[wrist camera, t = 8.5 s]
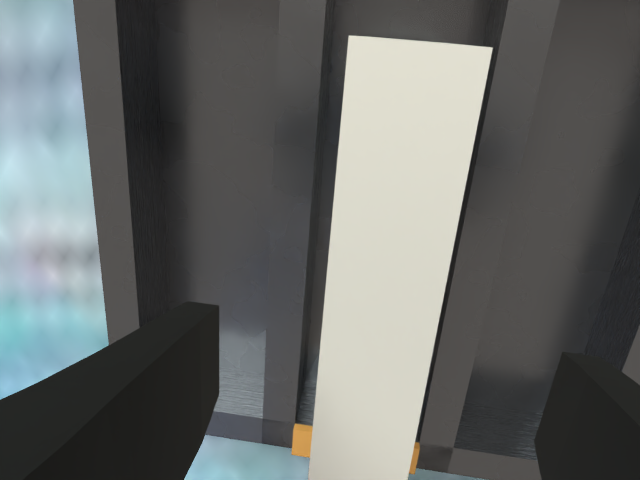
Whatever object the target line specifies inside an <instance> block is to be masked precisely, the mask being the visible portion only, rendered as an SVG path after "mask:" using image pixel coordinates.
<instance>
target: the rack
mask: <svg viewBox="0 0 640 480" xmlns="http://www.w3.org/2000/svg"><path fill="white" fill-rule="evenodd" d="M73 3H74V13H75V23H76V32H77V42H78V52H79V61H80V71H81V80H82V90H83V100H84V109H85V119H86V129H87V138H88V148H89V157H90V167H91V177H92V186H93V196H94V206H95V215H96V225H97V234H98V244H99V254H100V263H101V273H102V283H103V292H104V302H105V311H106V321H107V331H108V340H109V345H111V344H112V343H114V342H116V341H118V340H119V339H121V338H123V337H125V336H126V335H128V334H130V333H132V332H133V331H135V330H137V329H139V328H140V327H142V326H144V325H146V324H147V323H149V322H151V321H152V320H154V319H156V318H158V317H159V316H161V315H163V314H165V313H166V312H168V311H170V310H172V309H173V308H175V307H177V306H179V305H181V304H183V303H185V302H187V301H190V302H198V303H205V304H213V305H219V397H218V399H217V402H216V405H215V408H214V411H213V414H212V417H211V420H210V423H209V425H208V428H207V431H206V433H205V435H211V436H218V437H224V438H230V439H237V440H243V441H249V442H255V443H262V444H268V445H274V446H281V447H287V448H292V455H297V456H303V457H309V458H310V452H311V441H312V430H313V419H314V408H315V397H316V386H317V375H318V364H319V354H320V343H321V332H322V321H323V310H324V299H325V288H326V277H327V266H328V255H329V245H330V234H331V223H332V212H333V201H334V190H335V179H336V168H337V157H338V147H339V136H340V125H341V114H342V103H343V92H344V81H345V70H346V59H347V49H348V38H349V36H369V37H381V38H393V39H405V40H417V41H429V42H441V43H452V44H462V45H472V46H482V47H492V48H493V49H492V54H491V59H490V64H489V70H488V75H487V80H486V85H485V90H484V95H483V100H482V105H481V110H480V115H479V120H478V125H477V130H476V135H475V140H474V146H473V151H472V156H471V161H470V166H469V171H468V176H467V181H466V186H465V191H464V196H463V201H462V206H461V211H460V216H459V222H458V227H457V232H456V237H455V242H454V247H453V252H452V257H451V262H450V267H449V272H448V277H447V282H446V287H445V292H444V298H443V303H442V308H441V313H440V318H439V323H438V328H437V333H436V338H435V343H434V348H433V353H432V358H431V363H430V368H429V374H428V379H427V384H426V389H425V394H424V399H423V404H422V409H421V414H420V419H419V424H418V429H417V434H416V439H415V444H414V450H413V455H412V460H411V465H410V470H409V474H415V470H416V468H419V469H426V470H432V471H438V472H445V473H451V474H457V475H463V476H470V477H476V478H482V479H489V480H542V479H541V475H540V470H539V465H538V460H537V455H536V450H535V445H534V439H535V436H536V433H537V430H538V427H539V424H540V420H541V417H542V414H543V411H544V408H545V405H546V402H547V398H548V395H549V392H550V389H551V386H552V383H553V380H554V377H555V373H556V370H557V367H558V364H559V361H560V358H561V355H562V352H569V353H576V354H584V355H591V356H598V357H600V358H602V359H603V360H605V361H607V362H608V363H610V364H611V365H613V366H614V367H616V368H617V369H618V370H620V371H621V372H623V373H624V374H625V375H627V376H628V377H630V378H631V379H632V380H634V381H635V382H636V383H638V384H639V385H640V0H73Z"/></svg>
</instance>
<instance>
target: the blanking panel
mask: <svg viewBox="0 0 640 480" xmlns="http://www.w3.org/2000/svg"><path fill="white" fill-rule="evenodd" d="M492 49H493V48H492V47H482V46H472V45H462V44H452V43H441V42H429V41H417V40H405V39H393V38H381V37H369V36H349V38H348V49H347V59H346V70H345V81H344V92H343V103H342V114H341V125H340V136H339V147H338V157H337V168H336V179H335V190H334V201H333V212H332V223H331V234H330V245H329V255H328V266H327V277H326V288H325V299H324V310H323V321H322V332H321V343H320V354H319V364H318V375H317V386H316V397H315V408H314V419H313V430H312V441H311V452H310V462H309V473H308V480H408V475H409V470H410V465H411V460H412V455H413V450H414V444H415V439H416V434H417V429H418V424H419V419H420V414H421V409H422V404H423V399H424V394H425V389H426V384H427V379H428V374H429V368H430V363H431V358H432V353H433V348H434V343H435V338H436V333H437V328H438V323H439V318H440V313H441V308H442V303H443V298H444V292H445V287H446V282H447V277H448V272H449V267H450V262H451V257H452V252H453V247H454V242H455V237H456V232H457V227H458V222H459V216H460V211H461V206H462V201H463V196H464V191H465V186H466V181H467V176H468V171H469V166H470V161H471V156H472V151H473V146H474V140H475V135H476V130H477V125H478V120H479V115H480V110H481V105H482V100H483V95H484V90H485V85H486V80H487V75H488V70H489V64H490V59H491V54H492Z"/></svg>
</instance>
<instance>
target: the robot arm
mask: <svg viewBox="0 0 640 480" xmlns="http://www.w3.org/2000/svg"><path fill="white" fill-rule="evenodd" d="M218 397H219V305H213V304H205V303H198V302H190V301H187V302H185V303H183V304H181V305H179V306H177V307H175V308H173V309H172V310H170V311H168V312H166V313H165V314H163V315H161V316H159V317H158V318H156V319H154V320H152V321H151V322H149V323H147V324H146V325H144V326H142V327H140V328H139V329H137V330H135V331H133V332H132V333H130V334H128V335H126V336H125V337H123V338H121V339H119V340H118V341H116V342H114V343H112V344H111V345H109V346H107V347H105V348H103V349H102V350H100V351H98V352H96V353H94V354H92V355H90V356H88V357H87V358H85V359H83V360H81V361H79V362H77V363H75V364H73V365H71V366H69V367H67V368H65V369H63V370H61V371H59V372H57V373H56V374H54V375H52V376H50V377H48V378H46V379H44V380H42V381H40V382H38V383H36V384H34V385H32V386H30V387H27V388H25V389H23V390H21V391H19V392H17V393H14V394H12V395H10V396H8V397H6V398H3V399H1V400H0V480H184V478H185V476H186V474H187V472H188V470H189V468H190V466H191V464H192V462H193V460H194V458H195V456H196V454H197V452H198V450H199V448H200V446H201V444H202V441H203V439H204V436H205V433H206V431H207V428H208V425H209V423H210V420H211V417H212V414H213V411H214V408H215V405H216V402H217V399H218ZM534 445H535V450H536V455H537V460H538V465H539V470H540V475H541V479H542V480H640V385H639V384H638V383H636V382H635V381H634V380H632V379H631V378H630V377H628V376H627V375H625V374H624V373H623V372H621V371H620V370H618V369H617V368H616V367H614V366H613V365H611V364H610V363H608V362H607V361H605V360H603V359H602V358H600V357H598V356H591V355H584V354H576V353H569V352H562V355H561V358H560V361H559V364H558V367H557V370H556V373H555V377H554V380H553V383H552V386H551V389H550V392H549V395H548V398H547V402H546V405H545V408H544V411H543V414H542V417H541V420H540V424H539V427H538V430H537V433H536V436H535V439H534Z"/></svg>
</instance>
